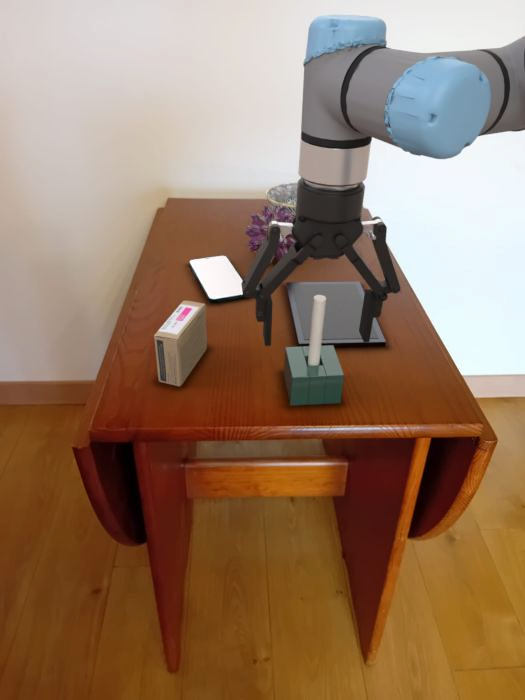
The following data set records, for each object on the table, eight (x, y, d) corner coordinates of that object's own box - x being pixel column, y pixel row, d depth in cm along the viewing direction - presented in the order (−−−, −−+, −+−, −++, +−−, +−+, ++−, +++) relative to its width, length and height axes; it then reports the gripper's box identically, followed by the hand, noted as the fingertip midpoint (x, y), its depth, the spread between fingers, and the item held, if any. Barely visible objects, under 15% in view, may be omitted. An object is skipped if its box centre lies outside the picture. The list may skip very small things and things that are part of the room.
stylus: (318, 388, 77) (328, 298, 68) (311, 393, 76) (320, 302, 68) (311, 383, 78) (319, 293, 69) (303, 387, 77) (311, 297, 69)
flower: (243, 257, 114) (295, 240, 116) (261, 282, 105) (317, 262, 107) (231, 206, 107) (286, 189, 109) (249, 227, 98) (309, 208, 100)
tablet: (385, 346, 86) (386, 341, 85) (298, 348, 85) (298, 343, 85) (358, 286, 102) (359, 281, 102) (285, 286, 101) (285, 281, 101)
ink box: (186, 344, 85) (183, 298, 81) (209, 349, 85) (207, 302, 80) (156, 382, 78) (151, 334, 73) (181, 388, 77) (177, 339, 72)
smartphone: (251, 297, 98) (225, 258, 110) (252, 293, 97) (225, 254, 109) (209, 304, 96) (187, 264, 108) (209, 300, 95) (187, 260, 107)
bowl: (256, 233, 121) (256, 200, 117) (275, 208, 134) (276, 178, 129) (325, 243, 118) (329, 210, 113) (339, 217, 130) (342, 186, 126)
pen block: (340, 403, 75) (344, 375, 72) (290, 405, 74) (292, 377, 71) (330, 372, 80) (333, 344, 78) (283, 374, 80) (285, 346, 77)
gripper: (427, 167, 64) (396, 319, 76) (219, 169, 62) (222, 326, 74) (451, 189, 58) (413, 350, 70) (221, 192, 56) (225, 358, 68)
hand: (315, 338), depth 72 cm, fingers open, 12 cm apart
